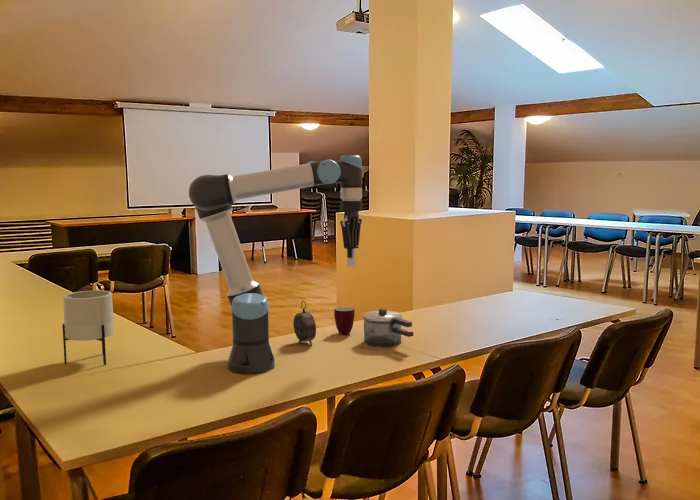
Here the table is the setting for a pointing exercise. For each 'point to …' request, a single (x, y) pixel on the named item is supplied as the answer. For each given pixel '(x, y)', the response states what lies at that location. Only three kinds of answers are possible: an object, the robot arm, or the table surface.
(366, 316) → the lid
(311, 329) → the alarm clock
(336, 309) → the mug
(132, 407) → the table surface
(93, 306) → the planter
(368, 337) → the pot
